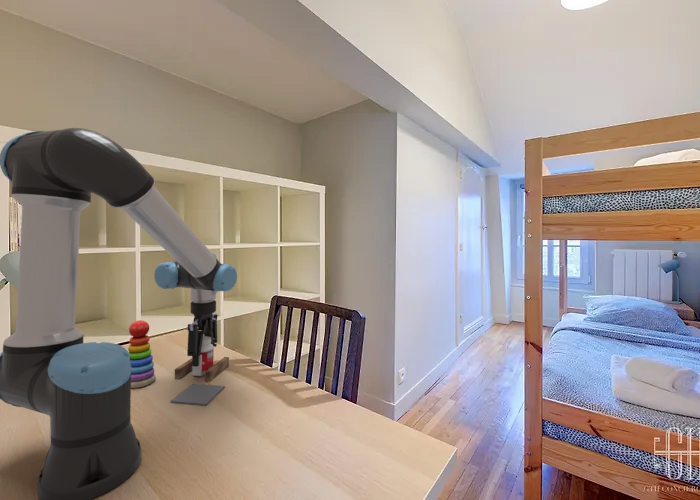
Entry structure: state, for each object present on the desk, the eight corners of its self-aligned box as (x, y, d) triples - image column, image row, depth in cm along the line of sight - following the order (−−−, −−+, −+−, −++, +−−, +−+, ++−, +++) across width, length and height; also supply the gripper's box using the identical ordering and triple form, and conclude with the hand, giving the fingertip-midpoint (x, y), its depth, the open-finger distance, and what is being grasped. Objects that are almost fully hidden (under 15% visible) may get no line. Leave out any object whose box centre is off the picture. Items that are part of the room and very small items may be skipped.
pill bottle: (188, 374, 103) (188, 340, 102) (202, 366, 109) (203, 334, 108) (203, 377, 101) (203, 342, 100) (217, 369, 106) (217, 337, 106)
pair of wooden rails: (210, 381, 98) (210, 371, 98) (174, 378, 99) (174, 369, 99) (228, 365, 110) (228, 357, 110) (197, 363, 111) (197, 354, 111)
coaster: (206, 405, 84) (206, 403, 84) (170, 402, 85) (170, 400, 85) (224, 387, 94) (224, 386, 94) (192, 385, 95) (192, 383, 95)
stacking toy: (161, 377, 100) (161, 318, 99) (142, 390, 92) (142, 325, 91) (138, 375, 100) (137, 316, 99) (117, 388, 92) (116, 323, 92)
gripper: (197, 307, 94) (197, 385, 95) (228, 295, 113) (228, 360, 114) (173, 306, 94) (173, 383, 95) (208, 294, 113) (208, 358, 114)
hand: (203, 370), depth 105 cm, fingers closed on pill bottle, 6 cm apart
